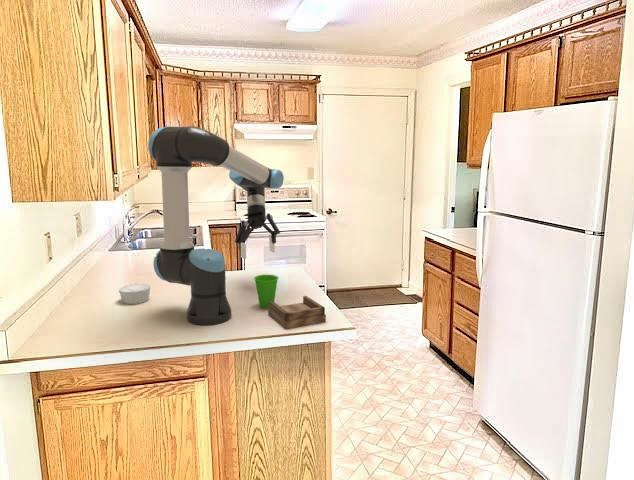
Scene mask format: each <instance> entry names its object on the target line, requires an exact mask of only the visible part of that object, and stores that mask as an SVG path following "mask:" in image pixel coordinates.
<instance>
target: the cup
mask: <svg viewBox="0 0 634 480" xmlns="http://www.w3.org/2000/svg"><path fill="white" fill-rule="evenodd" d="M253 280H254V281H255V282H254V283H255V286H256V292H257V293H256V294H257V299H258V303H259V306H260V308H262V309H268V308H269V301H273V302H275V300H276V299H275V298H276V294H277V293H276V292H277V284H278V280H279V276H277V275H275V274H258V275H256V276H254V278H253Z"/></svg>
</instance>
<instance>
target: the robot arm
mask: <svg viewBox="0 0 634 480" xmlns="http://www.w3.org/2000/svg"><path fill="white" fill-rule="evenodd" d="M147 145H148V146H147V147H148V148H147V149H148V154H149V155H150V156H151V158H152V159H153V160H155V163H156V168H157V169H158V170H159V171H160V172H161V194H162V195H161V196H162V214H163V215H162V216H163V217H162V218H163V240H164V241H163V242H162V243H161V244H160V245H159V250H158V251H156V254H155V256H154V258H153V264H152V265H153V269H154V272H155V274H156V276H157V277H158V278H159V279H160V280H162V281H165V282H167V283H170V284H178V285H183V286H188V287H189V286H190V295H191V296H190V300H189V304H188V308H187V311H186V320H187V321H188V323H191V324H193V325H201V326H210V325H217V324H218V325H219V324H221V323H222V324H223V323H224V322H227V321H229V320H230V319H231V318H232V308H231V306H230V302H229V300H228V297H227V293H226V292H227V291H226V288H227V287H226V263H225V255H224V253H222V252H220V251H219V250H216V249H211V248H195V244H194V243H193V242H192V241H191V239H190V218H189V217H190V211H189V210H190V208H189V207H190V206H189V179H188V178H189V176H188V172H189V171H190V170H191V169H192V168H193V163H203V164H209V165H210V166H211V165H212V166H213V167H218V166H220V167H221V168H224V169H227V170H228V171H229V173H228V177H229V179H230V181H232V182H233V183H234V184H235V185H237V186H239V188H241V189H242V190H245V192H246V196H247V199H246V205H247V206H246V207H247V220H243V219H242V220H241V223H240V227H239V230H238V232H237V234H236V237H235V240H234V242H235V243H236V244H238V248H239V252H240V258H241V259H244V260H246V259H247V245H246V242H247V240H248V239H249V236H250V235H251V234H252V232H254V230H257V229H262V228H264V229H265V230H266V231H267V232H268V233H269V236H268V239H269V242H268V243H269V252H272V253H275V250H276V249H275V248H276V247H275V244H276V243H277V235H280V234H281V231H280V230H279V228H278V226H277V224H276V222H275V220H274V219H273V218H274V217H273V215H271V214H270V213H268V212H267V213H266V197H265V196H266V193H265V191H266V190H265V189H272V190H273V189H280V188H281V187H282V186H283V184H284V178H285V175H284V173H283V172H282V170H280V169H276V168H269V167H267V166H266V165H264V164H262V163H260V162H258V160H257V161H256V160H255V159H253V158H251V157H250V156H248V155H246V154H244V153H243V152H242V151H239V150H237V149H235V148H233V147H232V146H231V145H230V144H229V142H228V141H227V140H225V139H224V138H222V137H220V136H219V135H217V134H215V133H213V132H211V131H209V130H207V129H204V128H201V127H198V126H191V125H190V126H166V127H165V126H163V127H160V128H159V127H158V128H157V129H154V131H153V132H152V134H151V135H150V136H149V139H148V144H147ZM266 220H267V221H268V223H269V224H270V226H271V227H272V229H273V230H272V229H271V228H270V227H269V226H268V225H267V224H266V223H265V222H266Z"/></svg>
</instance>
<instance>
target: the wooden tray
mask: <svg viewBox="0 0 634 480" xmlns="http://www.w3.org/2000/svg"><path fill="white" fill-rule="evenodd" d="M267 311H268V312H267V314H268V315H267V316H270V318H272V319H273V320H274V321H275V322H276V323H278V324H279V325H280V326H281V327H282V328H283V329H285V330H288V329H294V328H298V327H303V326H304V327H305V326H310V325H315V324H320V323H326V322H327V314H326V311H325V306H323V305H321V304H320V303H318V302H316V301H315V300H314V299H312V298H311V297H309V296H307V295H304V296H302V302H298V303H291V304H286V305H279V304H277V303H276V302H275V301H274V302H273V301H269V308H267Z"/></svg>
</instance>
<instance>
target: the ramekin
mask: <svg viewBox="0 0 634 480" xmlns="http://www.w3.org/2000/svg"><path fill="white" fill-rule="evenodd" d="M118 292H119V294H120V299H121V301H122V303H123V304H126V305H137V304H138V305H139V304H141V303H145V302H147V301H149V298H150V292H151V285H150V284H148V283H147V284H146V283H132V284H127V285H123V286H121V287H120V288H119V289H118Z"/></svg>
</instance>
